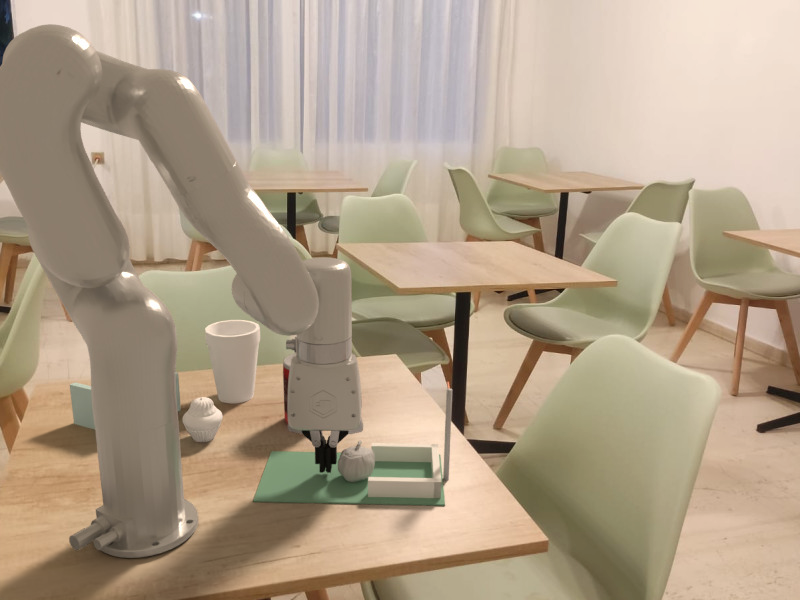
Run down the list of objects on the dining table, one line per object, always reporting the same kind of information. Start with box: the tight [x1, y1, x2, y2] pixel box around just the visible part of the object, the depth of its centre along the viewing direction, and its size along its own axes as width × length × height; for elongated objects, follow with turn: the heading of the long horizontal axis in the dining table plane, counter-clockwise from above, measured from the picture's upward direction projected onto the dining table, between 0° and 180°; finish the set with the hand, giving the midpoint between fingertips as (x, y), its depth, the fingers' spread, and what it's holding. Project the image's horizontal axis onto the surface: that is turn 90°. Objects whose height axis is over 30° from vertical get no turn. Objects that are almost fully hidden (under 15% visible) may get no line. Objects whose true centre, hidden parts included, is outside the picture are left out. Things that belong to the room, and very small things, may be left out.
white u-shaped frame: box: [368, 381, 453, 498], centre depth 104 cm, size 11×11×14 cm
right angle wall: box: [69, 371, 182, 430], centre depth 123 cm, size 12×12×8 cm
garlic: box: [338, 440, 375, 482], centre depth 105 cm, size 6×5×5 cm
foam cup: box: [204, 319, 261, 404], centre depth 131 cm, size 10×9×13 cm
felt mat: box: [252, 450, 446, 507], centre depth 106 cm, size 26×14×1 cm, turn 90°
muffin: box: [182, 396, 224, 443], centre depth 116 cm, size 6×6×7 cm
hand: (326, 467), depth 106 cm, fingers closed
